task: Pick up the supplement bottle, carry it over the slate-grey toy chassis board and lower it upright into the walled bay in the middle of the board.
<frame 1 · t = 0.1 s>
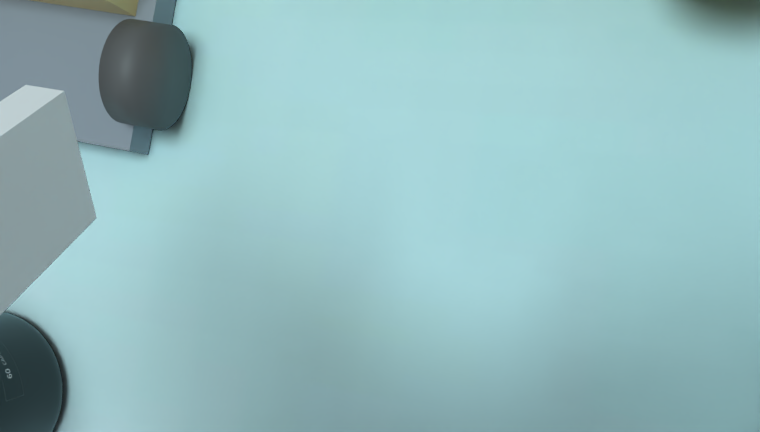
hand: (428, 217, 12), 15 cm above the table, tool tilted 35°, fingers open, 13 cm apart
supplement bottle: (0, 384, 30), on the table
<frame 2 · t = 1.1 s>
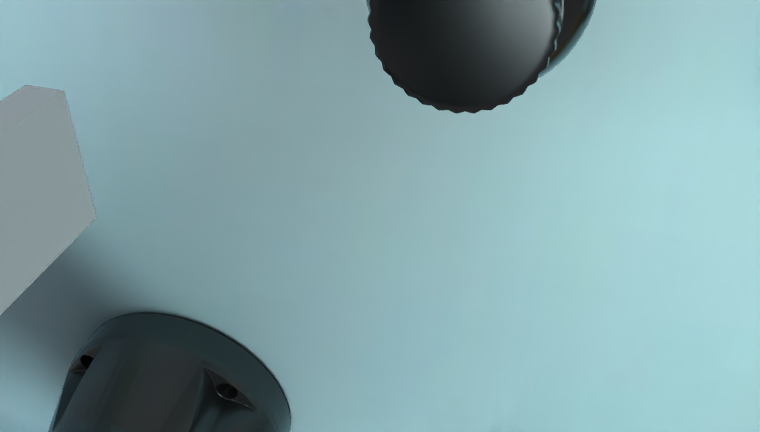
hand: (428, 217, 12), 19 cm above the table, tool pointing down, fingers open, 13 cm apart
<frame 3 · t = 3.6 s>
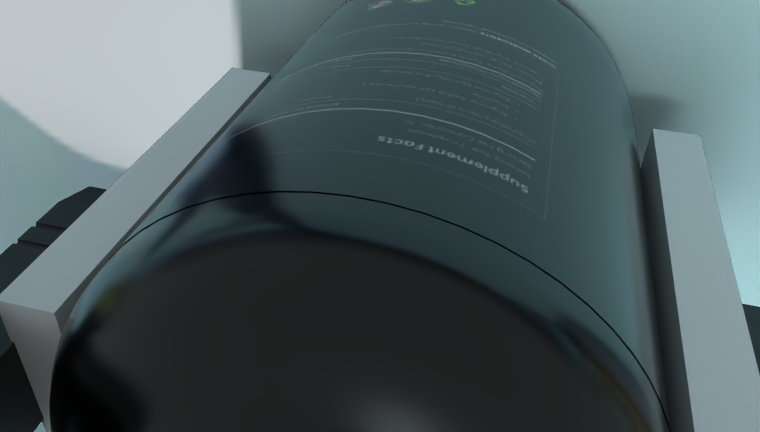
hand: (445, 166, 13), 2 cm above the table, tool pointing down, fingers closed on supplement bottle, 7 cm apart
supplement bottle: (459, 122, 14), on the table, touching gripper
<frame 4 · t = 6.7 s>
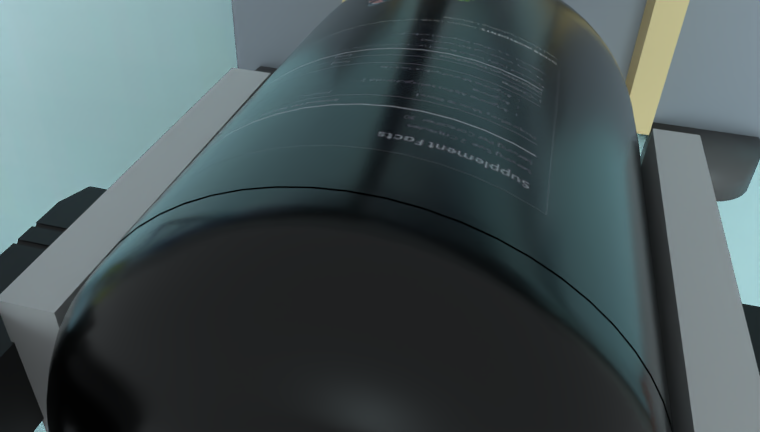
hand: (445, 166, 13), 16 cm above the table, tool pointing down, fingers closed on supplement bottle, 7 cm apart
supplement bottle: (459, 120, 14), point 15 cm above the table, touching gripper
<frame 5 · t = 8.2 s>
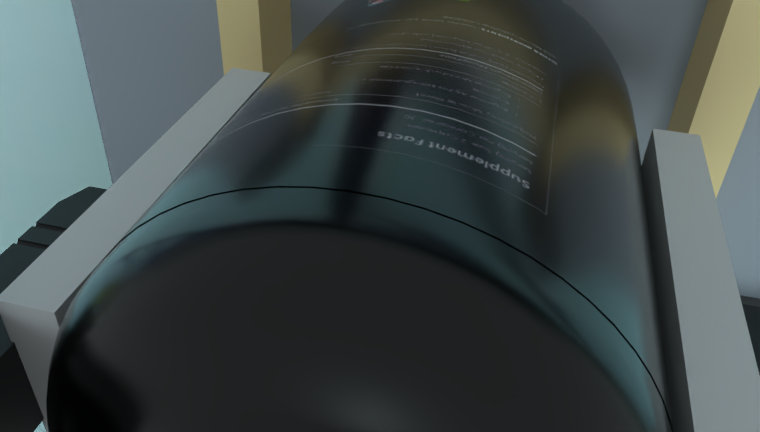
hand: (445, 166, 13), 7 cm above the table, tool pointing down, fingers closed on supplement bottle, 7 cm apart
chassis: (484, 38, 18), on the table
supplement bottle: (459, 120, 14), point 5 cm above the table, touching gripper
when the fingers open (4 cm above the table, at t = 9.5 s): supplement bottle drops 1 cm, resting on chassis.
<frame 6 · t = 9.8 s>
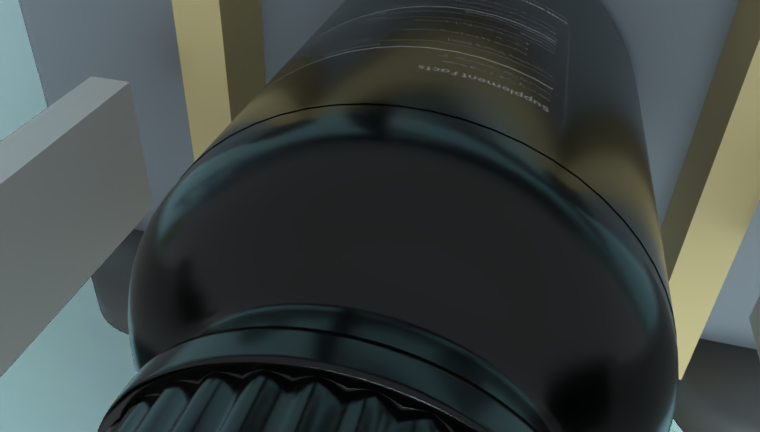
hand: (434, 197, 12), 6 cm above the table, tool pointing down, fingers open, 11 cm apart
chassis: (477, 68, 17), on the table
supplement bottle: (473, 92, 15), point 1 cm above the table, touching chassis
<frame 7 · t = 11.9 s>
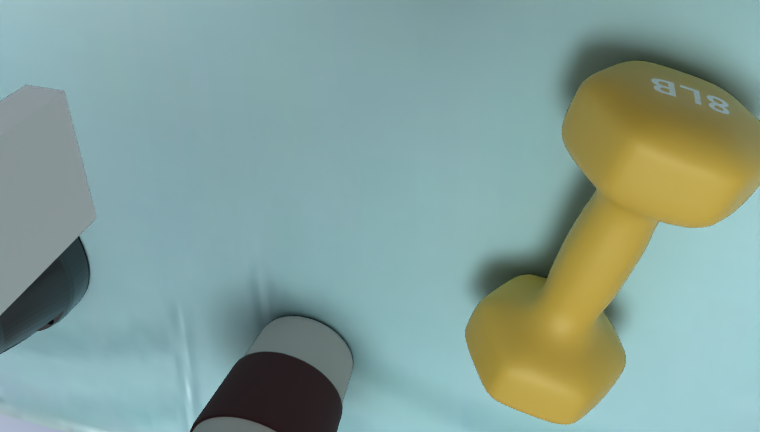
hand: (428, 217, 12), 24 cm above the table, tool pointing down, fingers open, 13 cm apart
coffee cup: (309, 347, 52), on the table
dumbbell: (599, 208, 39), on the table
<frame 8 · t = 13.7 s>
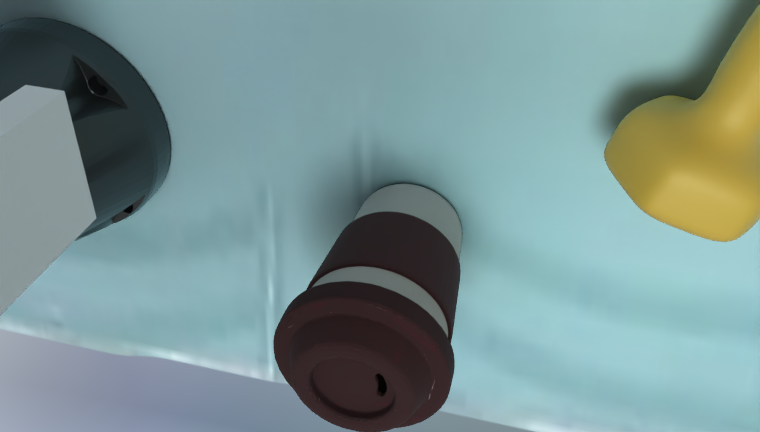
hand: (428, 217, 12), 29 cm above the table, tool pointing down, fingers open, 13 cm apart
coffee cup: (411, 223, 48), on the table
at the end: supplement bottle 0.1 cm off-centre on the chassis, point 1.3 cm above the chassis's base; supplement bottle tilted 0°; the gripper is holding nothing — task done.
